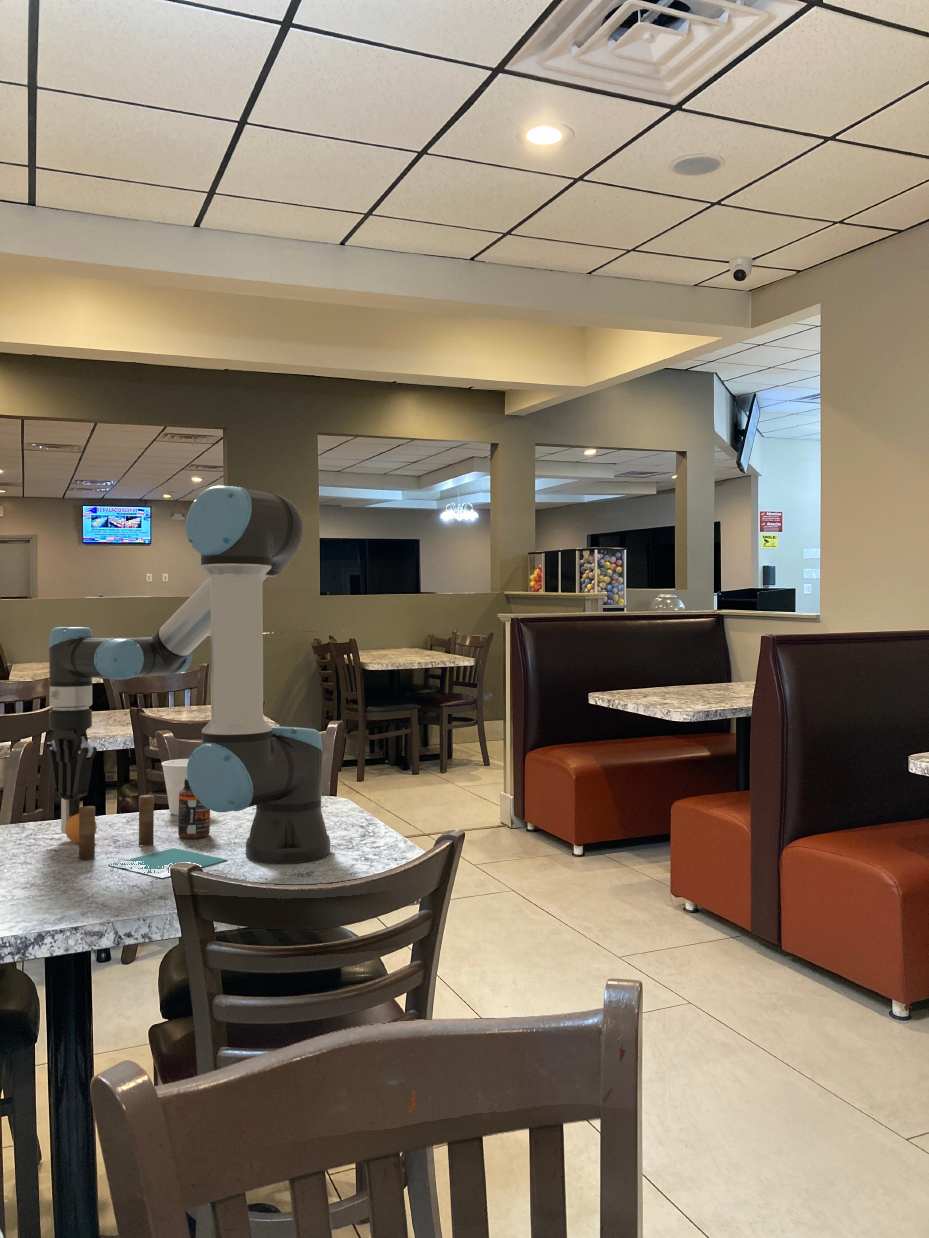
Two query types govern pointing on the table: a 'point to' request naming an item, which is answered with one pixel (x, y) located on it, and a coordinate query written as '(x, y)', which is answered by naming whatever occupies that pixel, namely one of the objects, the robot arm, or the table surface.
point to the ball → (74, 828)
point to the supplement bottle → (192, 815)
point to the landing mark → (173, 859)
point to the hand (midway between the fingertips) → (69, 831)
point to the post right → (146, 820)
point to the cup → (174, 781)
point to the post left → (86, 832)
